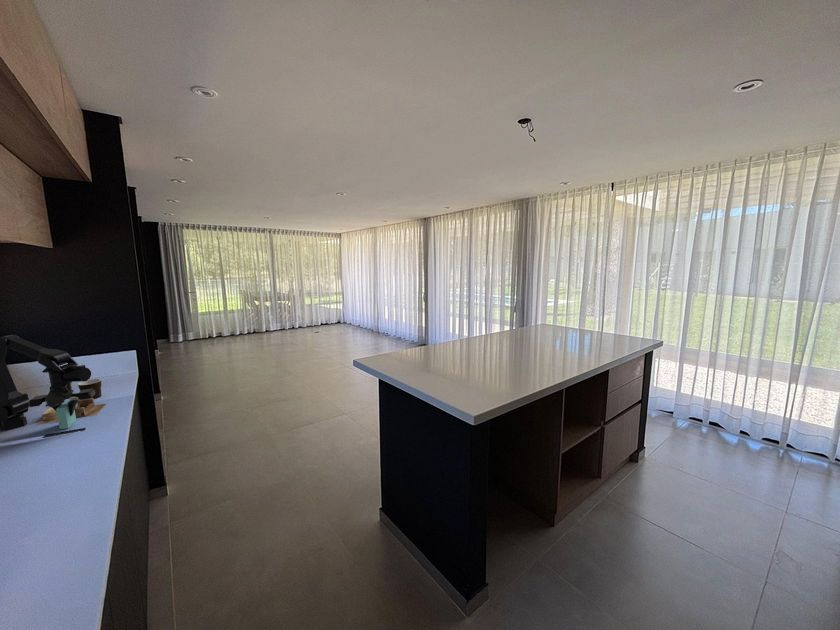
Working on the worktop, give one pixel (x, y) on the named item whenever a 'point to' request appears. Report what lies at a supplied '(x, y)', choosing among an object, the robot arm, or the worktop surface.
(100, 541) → the worktop surface
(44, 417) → the oak offcut lower
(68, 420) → the teal rectangular block
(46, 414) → the oak offcut upper
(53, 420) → the walnut rack
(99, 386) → the coffee mug
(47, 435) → the charcoal mat
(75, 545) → the worktop surface
